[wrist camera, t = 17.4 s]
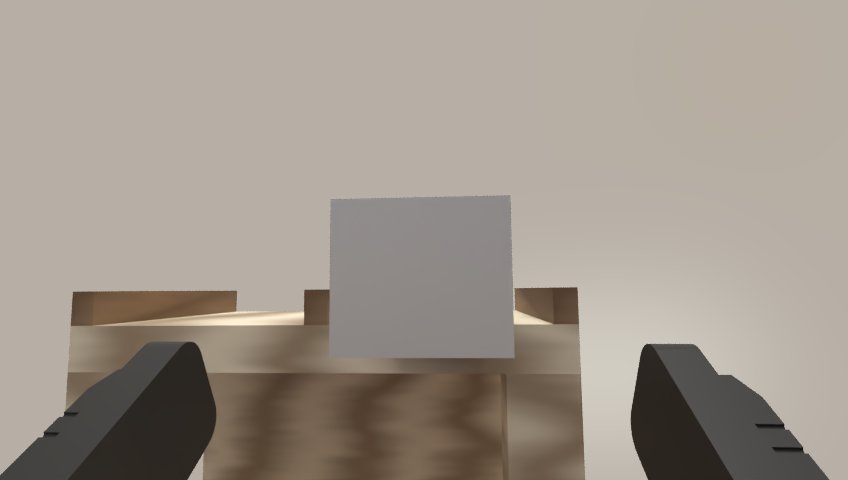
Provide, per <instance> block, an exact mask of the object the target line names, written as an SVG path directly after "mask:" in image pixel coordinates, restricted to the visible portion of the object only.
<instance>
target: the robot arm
mask: <svg viewBox="0 0 848 480" xmlns="http://www.w3.org/2000/svg"><path fill="white" fill-rule="evenodd" d="M215 425H216V405H215V401H214V397H213V394H212V390H211V386H210V383H209V379H208V376H207V372H206V368H205V365H204V361H203V357H202V354H201V351H200V348H199V347H198V345H197V344H196V343H194V342H164V341H154V342H149V343H147V344H146V345H144V346H143V347H142V348H141V349H140V350H139V351H138V352H137V353H136V354H135V355H134V356H133V358H132V359H131V360H130V361H129V362H128V363H127V364H126V365H125V366H124V367H123V368H122V369H118V370H116V371H115V372H113V373H112V374H110V375H109V376H107V377H105V378H104V379H102V380H101V381H99V382H98V383H96V384H94V385H93V386H91V387H90V388H88V389H87V390H86V391H85V392H84V393H83V394H82V395H81V396H80V397H79V398H78V399H77V400H76V401H75V402H74V403H73V404H72V405H71V406H70V407H69V408H68V409H67V410H66V411H65V412H64V416H63V417H59V418H58V419H57V420H56V421H55V422H54V423H53V424H52V425H51V426H50V427H49V428H48V429H47V430H46V431H45V432H44V436H43V437H42V438H38V439H37V440H36V441H35V442H34V443H32V444H31V445H30V446H29V447H28V448H27V449H26V450H25V452H23V453H22V454H21V455H20V456H19V458H17V459H16V461H14V463H12V464H11V465H10V466H9V467H8V468H7V469H6V470H5V471H4V472H3V473H2V474H1V475H0V480H187V479H188V478H189V476H190V474H191V473H192V471H193V469H194V468H195V466H196V464H197V463H198V461H199V459H200V457H201V456H202V454H203V452H204V451H205V449H206V447H207V446H208V444H209V442H210V440H211V438H212V436H213V433H214V429H215ZM631 430H632V437H633V442H634V445H635V449H636V451H637V454H638V456H639V459H640V461H641V463H642V466H643V468H644V471H645V473H646V476H647V478H648V480H829V479H828V478H827V476H826V475H825V474H824V473H823V471H822V470H821V469H820V468H819V466H818V465H817V464H816V463H815V461H814V460H813V459H812V458H811V457H810V455H809V454H805V453H804V451H803V447H802V445H801V444H800V443H799V442H798V441H797V439H796V438H795V437H794V436H793V434H792V433H791V432H790V431H789V430H785V428H784V423H783V422H782V421H781V420H780V418H779V417H778V416H777V415H776V413H775V412H774V411H773V410H772V408H771V407H770V406H769V405H768V404H767V402H766V401H765V400H764V399H763V397H761V396H760V395H759V394H757V393H756V392H754V391H753V390H752V389H750V388H749V387H747V386H746V385H745V384H743V383H742V382H740V381H739V380H737V379H736V378H735V377H733V376H732V375H718V374H717V372H716V371H715V370H714V368H713V367H712V366H711V364H710V363H709V362H708V360H707V359H706V358H705V356H704V355H703V353H702V352H701V351H700V349H699V348H698V347H697V346H695V345H693V344H646V345H645V346H644V347H643V349H642V352H641V356H640V362H639V368H638V374H637V380H636V386H635V392H634V398H633V404H632V410H631Z"/></svg>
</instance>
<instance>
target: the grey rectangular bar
mask: <svg viewBox="0 0 848 480" xmlns="http://www.w3.org/2000/svg"><path fill="white" fill-rule="evenodd" d="M330 228H331V229H330V313H329V358H515V353H514V315H513V278H512V240H511V202H510V195H509V196H464V197H415V198H371V199H331V223H330Z"/></svg>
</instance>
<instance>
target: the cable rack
mask: <svg viewBox="0 0 848 480" xmlns="http://www.w3.org/2000/svg"><path fill="white" fill-rule="evenodd" d="M236 301H237V291H126V292H125V291H122V292H121V291H120V292H73V300H72V316H71V317H72V318H71V332H70V348H69V363H68V378H67V394H66V395H67V396H66V409H65V411H66V410H67V409H68V408H69V407H70V406H71V405H72V404H73V403H74V402H75V401H76V400H77V399H78V398H79V397H80V396H81V395H82V394H83V393H84V392H85V391H86V390H87V389H88V388H90V387H91V386H93V385H94V384H96V383H98V382H99V381H101V380H102V379H104V378H105V377H107V376H109V375H110V374H112V373H113V372H115V371H116V370H118V369H122V368H123V367H124V366H125V365H126V364H127V363H128V362H129V361H130V360H131V359H132V358H133V356H134V355H135V354H136V353H137V352H138V351H139V350H140V349H141V348H142V347H143V346H144V345H146V344H147V343H149V342H154V341H164V342H194V343H196V344H197V345H198V347H199V348H200V351H201V354H202V357H203V361H204V365H205V368H206V372H207V376H208V379H209V383H210V386H211V390H212V394H213V397H214V401H215V405H216V425H215V429H214V433H213V436H212V438H211V440H210V442H209V444H208V446H207V447H206V449H205V451H204V460H203V461H204V462H203V480H585V470H584V469H585V467H584V442H583V418H582V392H581V367H580V344H579V343H580V342H579V319H578V292H577V288H517V289H516V288H515V310H513V315H514V353H515V358H329V313H330V290H305V292H304V311H282V312H281V311H271V312H270V311H269V312H236Z"/></svg>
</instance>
